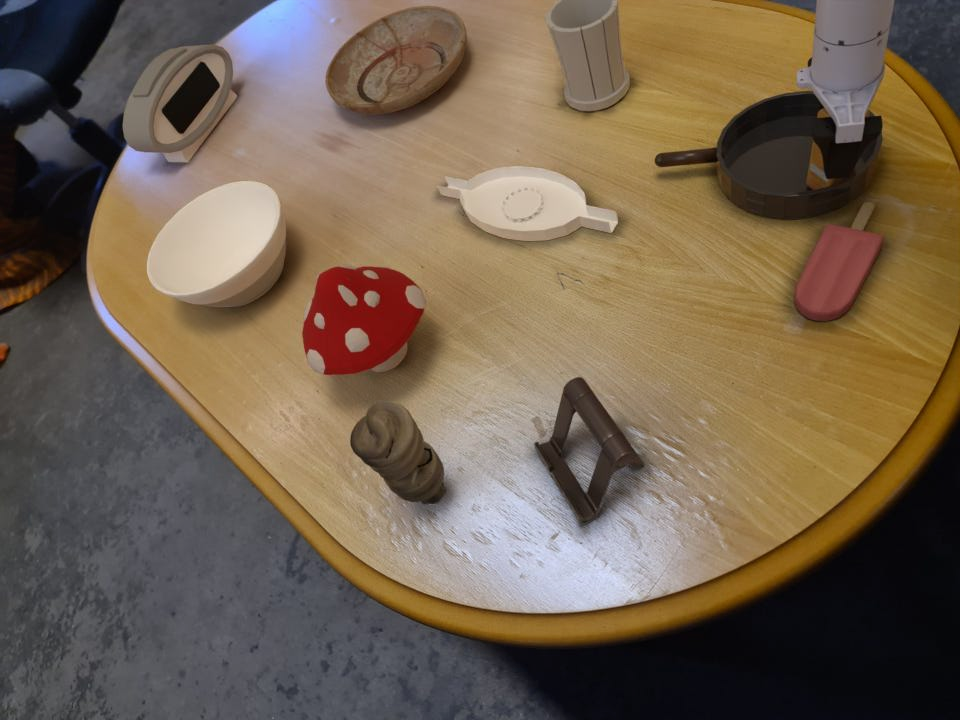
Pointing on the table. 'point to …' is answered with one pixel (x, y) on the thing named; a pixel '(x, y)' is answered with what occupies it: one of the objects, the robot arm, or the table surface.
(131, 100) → the alarm clock
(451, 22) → the ceramic bowl
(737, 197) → the pan
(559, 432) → the tablet stand
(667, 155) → the pan handle
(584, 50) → the cup
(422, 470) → the brown twisted statue
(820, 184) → the supplement box
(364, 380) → the table surface
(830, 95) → the robot arm
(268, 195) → the bowl
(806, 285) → the popsicle
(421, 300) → the decorative mushroom
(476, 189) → the shallow oval tray
